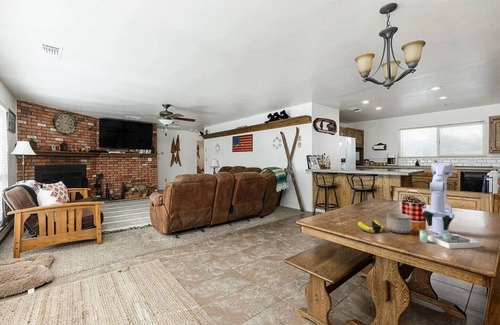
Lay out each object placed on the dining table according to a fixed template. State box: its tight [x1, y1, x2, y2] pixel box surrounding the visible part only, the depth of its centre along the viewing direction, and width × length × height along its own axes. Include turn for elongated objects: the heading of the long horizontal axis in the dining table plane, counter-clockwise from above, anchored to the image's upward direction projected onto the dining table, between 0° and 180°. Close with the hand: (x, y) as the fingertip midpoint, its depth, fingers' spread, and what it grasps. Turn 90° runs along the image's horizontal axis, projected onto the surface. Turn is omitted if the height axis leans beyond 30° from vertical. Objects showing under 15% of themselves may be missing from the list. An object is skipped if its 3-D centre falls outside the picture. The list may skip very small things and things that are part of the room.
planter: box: [386, 212, 411, 234], centre depth 145 cm, size 13×13×10 cm
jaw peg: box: [419, 229, 429, 244], centre depth 127 cm, size 4×4×6 cm
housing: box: [428, 232, 482, 250], centre depth 124 cm, size 18×13×6 cm
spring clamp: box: [357, 220, 384, 234], centre depth 147 cm, size 15×6×10 cm
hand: (437, 227), depth 124 cm, fingers open, 7 cm apart
